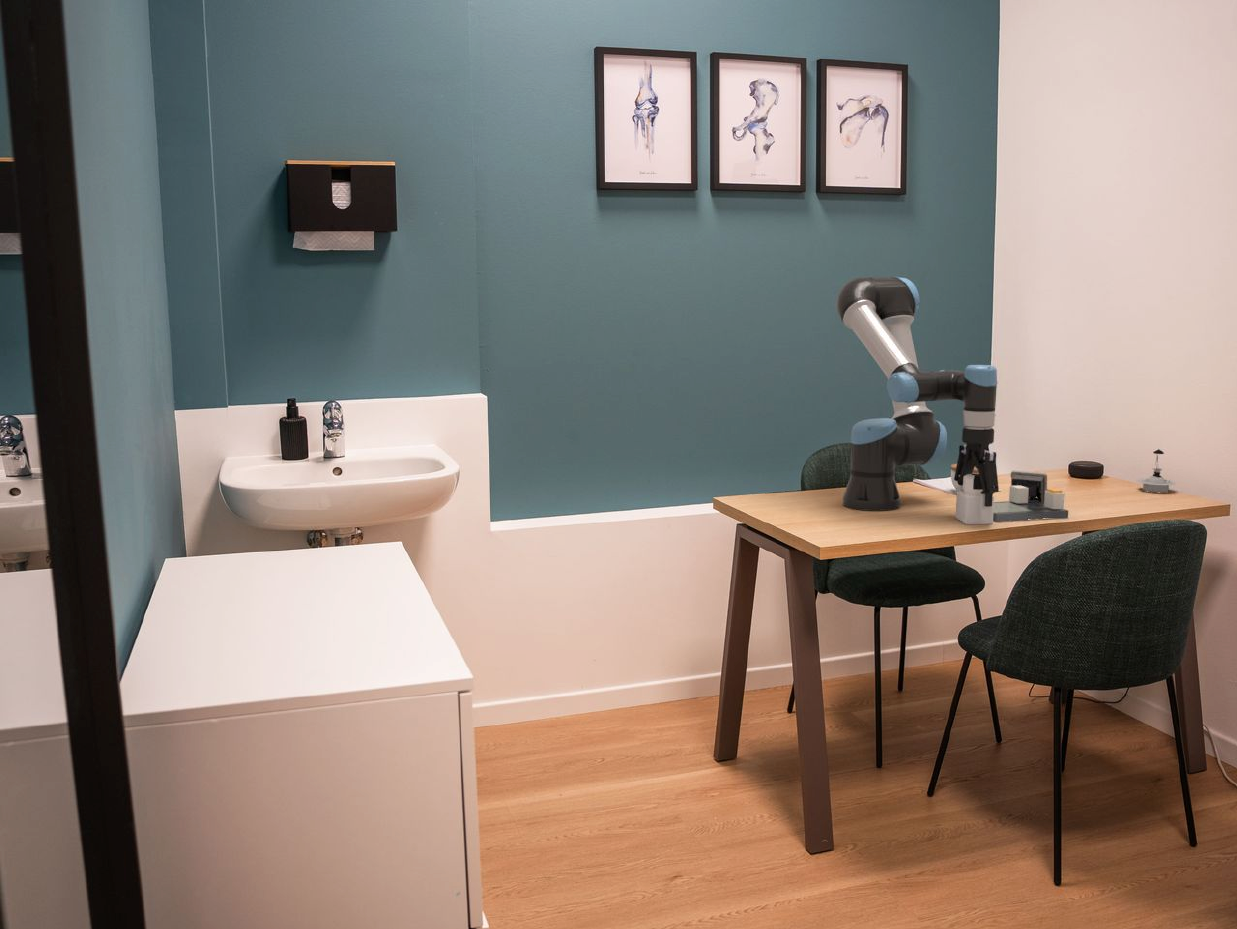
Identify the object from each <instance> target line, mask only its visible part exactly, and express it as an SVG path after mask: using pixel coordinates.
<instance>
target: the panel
mask: <svg viewBox="0 0 1237 929" xmlns="http://www.w3.org/2000/svg"><path fill="white" fill-rule="evenodd" d="M1043 518H1062V519H1069V510H1068V509H1065V508H1064V509H1051V508H1048V507H1045V506H1044V502H1042V501H1039V500H1028V503H1019V504H1017V503H1014V502H1012V501H1009V500H1008V501H1007V500H1006V501H994V511H993V522H995V523H999V522H1000V523H1002V522H1004V523H1005V522H1019V521H1018V520H1024V521H1029V520H1028V519H1043ZM1043 520H1044V519H1043Z"/></svg>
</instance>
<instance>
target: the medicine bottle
mask: <svg viewBox="0 0 1237 929" xmlns="http://www.w3.org/2000/svg"><path fill="white" fill-rule="evenodd" d="M963 490H964V491H956V501H955V519H956V518H957V519H956V520H958V521H959V520H960V522H961V521H962V522H961V523H962V524H964V523H965V524H964V525H992V524H993V523H994V521H993V511H994V502H995V496H994V495H993V499H992V514H991V519H980V502H981V492H982V491H983V489H982V485H981V480H980V476H979V474H967V475H965V476H964V477H963Z"/></svg>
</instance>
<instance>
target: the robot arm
mask: <svg viewBox="0 0 1237 929" xmlns="http://www.w3.org/2000/svg"><path fill="white" fill-rule="evenodd" d="M919 304H920V294H919V292H918V289H917V286H915V283H913V282H912V281H911V280H910V279H909V278H906V277H898V276H889V277H888V276H887V277H884V276H883V277H882V276H881V277H876V276H875V277H871V276H870V277H866V276H865V277H864V276H863V277H862V276H861V277H856V278H852V279H851V280H849V281H848V282H847V283H846V284H844V285H843V287H842V288H841V289H840V291H839V293H838V295H837V299H836V310H837V311H836V312H837V314H838V317H839V320H841V322H842V323H843V325H844V326H845V327H846V328H848V329H849V330H852V331H853V332H854V333H855V335H856V337H858V339H859V340H860V342H861V343H862V344H863V346H864V347H865V348H866V350H867V351H868V352H869V354H870V355H871V357H872V358H873V359H874V361H875V362H876V363H877V365H878V366H879V368H880V369H881V371H882V372H883V373H884V375H885V376H886V377H887V382H886V389H887V390H886V391H887V392H888V394H887V395H888V397H889V398H890V399H891V402H892V406H893V412H894V414H893V415H892V417H891V418H887V417H881V418H870V419H869V418H868V419H864V420H860V421H857V422H856V423H855V424H854V425H853V426H852V428H851V435H850V436H851V437H850V474H849V476H850V477H849V479H848V483H847V485H846V488H845V491H844V493H843V497H842V505H843V506H845V507H846V508H850V509H853V510H854V509H855V510H860V511H893V510H897V509H898V508H900V506H901V497H900V494H899V490H898V487H897V483H896V480H895V468H896V467H900V466H911V465H914V466H915V465H920V466H924V465H926V464H932V463H935V462H938V461H939V460H940V459H941V458H942V457H943V455H944V453H945V451H946V449H947V444H948V433H947V429H946V427H945V425H944V424H943V423H942V421H939V420H936V419H935V417H934V412H933V411H932V410H930V409H929V408H928V407H927V406H926V404H927V403H926V402H940V401H959V402H963V414H962V426H964V427H963V428H962V434H961V441H962V443H964V444H960V445H959V448H958V456H957V463H956V464H957V466H956V471H955V476H954V480H955V481H957V482H958V485H959V491H964V490H963V477H964V476H965V475H967V474H972V473H973V470H974V467H976V468H977V469H978V472H979V476H980V480H981V485H982V489H983V491H982V492H981V502H980V519H991V514H992V499H993V496H994V494H995V493H998V492H999V490H1000V489H999V479H998V469H997V452H996V451H990V447H989V446H990V444H994V441H995V429H994V428H993V427H995V423H996V422H995V420H996V418H995V417H996V406H997V405H996V404H997V403H996V402H997V388H998V386H997V385H998V374H997V373H998V371H997V370H998V369H997V368H996V366H994V365H991V364H969V365H967V366H966V367H965V371H961V370H955V369H941V370H939V371H920V369H919V365H918V364H919V363H918V361H917V360H918V359H917V355H916V350H915V346H914V340H913V335H912V334H913V333H912V330H911V329H912V328H911V325H912V324H913V323H914V321H915V316H916V315H917V314H918V311H919V308H920V307H919ZM959 475H960V476H959Z"/></svg>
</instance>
